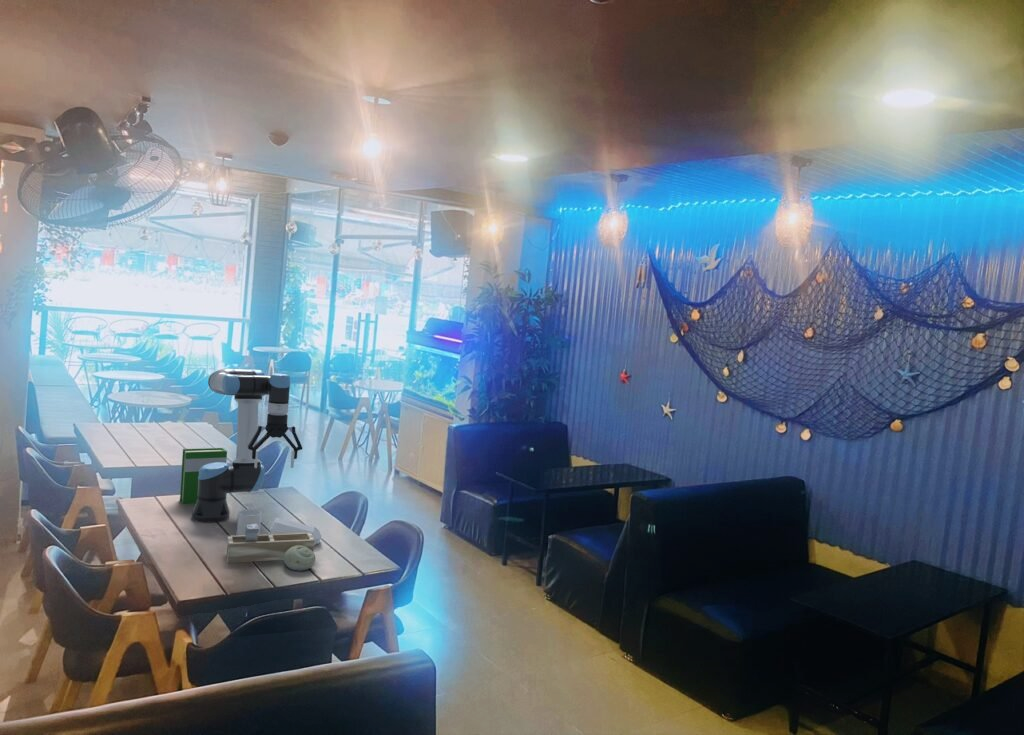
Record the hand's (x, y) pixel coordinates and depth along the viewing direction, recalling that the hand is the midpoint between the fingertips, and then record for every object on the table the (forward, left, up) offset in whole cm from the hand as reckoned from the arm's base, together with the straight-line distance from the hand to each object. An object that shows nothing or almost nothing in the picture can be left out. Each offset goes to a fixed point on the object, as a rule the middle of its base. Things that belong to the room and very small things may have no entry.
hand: (274, 467), depth 283 cm
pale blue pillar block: (+11, -8, -31) cm, 33 cm away
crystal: (-7, +11, -32) cm, 35 cm away
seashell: (+24, +8, -32) cm, 41 cm away
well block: (+11, 0, -32) cm, 34 cm away
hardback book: (-66, -23, -32) cm, 77 cm away
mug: (-11, -7, -32) cm, 34 cm away
